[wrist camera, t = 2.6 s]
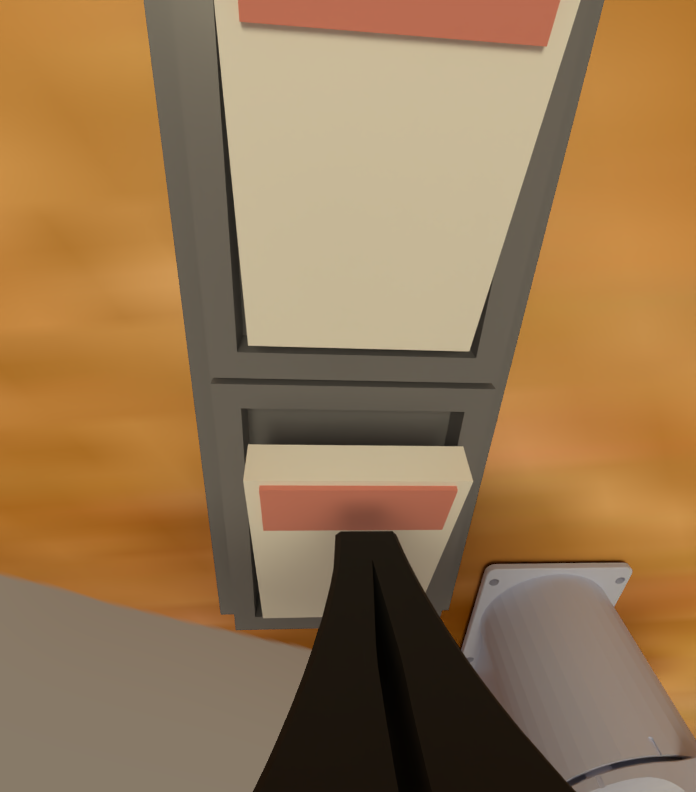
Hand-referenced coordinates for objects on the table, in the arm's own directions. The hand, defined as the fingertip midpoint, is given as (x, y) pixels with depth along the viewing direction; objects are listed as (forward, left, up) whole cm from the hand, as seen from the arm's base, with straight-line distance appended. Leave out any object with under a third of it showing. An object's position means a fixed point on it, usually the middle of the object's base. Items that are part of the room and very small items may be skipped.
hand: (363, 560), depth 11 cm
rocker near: (+8, 0, -3) cm, 9 cm away
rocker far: (-3, 0, -3) cm, 5 cm away
